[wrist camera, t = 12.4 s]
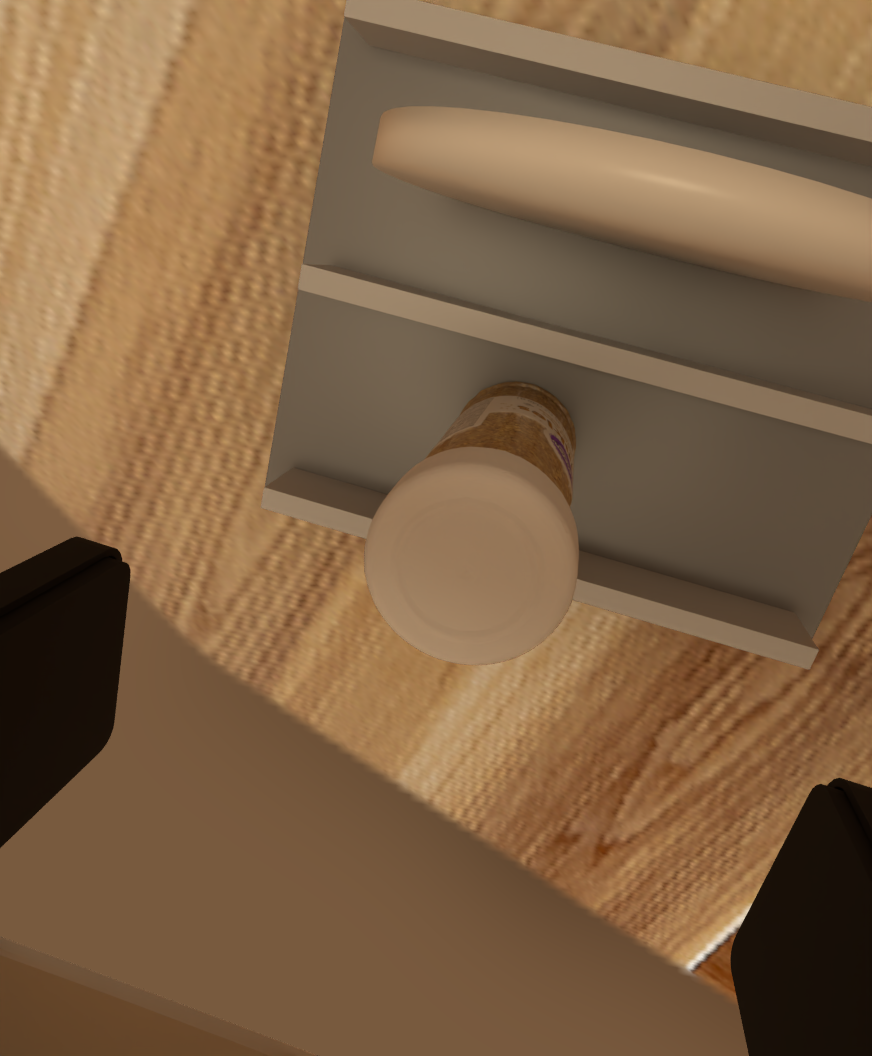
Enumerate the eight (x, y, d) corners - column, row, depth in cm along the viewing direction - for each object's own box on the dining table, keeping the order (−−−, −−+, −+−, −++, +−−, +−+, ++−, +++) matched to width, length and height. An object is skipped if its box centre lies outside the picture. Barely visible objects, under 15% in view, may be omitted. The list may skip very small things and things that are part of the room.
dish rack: (1017, 169, 24) (1681, 11, 10) (800, 631, 30) (1009, 958, 15) (357, 12, 25) (87, -318, 11) (275, 478, 31) (32, 646, 17)
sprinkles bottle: (601, 450, 28) (626, 597, 15) (503, 521, 29) (452, 709, 16) (523, 351, 27) (482, 419, 14) (428, 429, 28) (315, 552, 16)
